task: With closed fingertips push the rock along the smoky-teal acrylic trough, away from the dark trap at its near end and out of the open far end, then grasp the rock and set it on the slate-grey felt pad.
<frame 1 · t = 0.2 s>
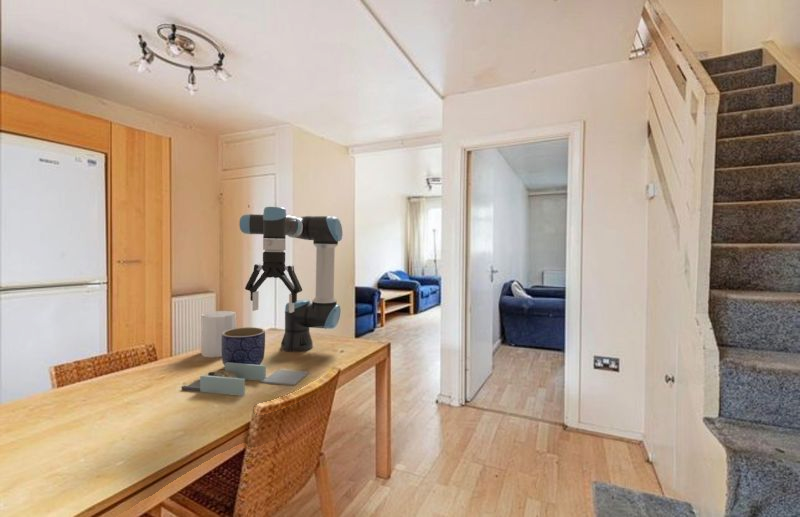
hand: (273, 311, 131), 28 cm above the table, fingers open, 13 cm apart
planter: (243, 368, 153), on the table
trough: (234, 385, 134), on the table
rock: (226, 384, 134), on the table, touching trough
container: (218, 352, 172), on the table
pad: (286, 377, 143), on the table
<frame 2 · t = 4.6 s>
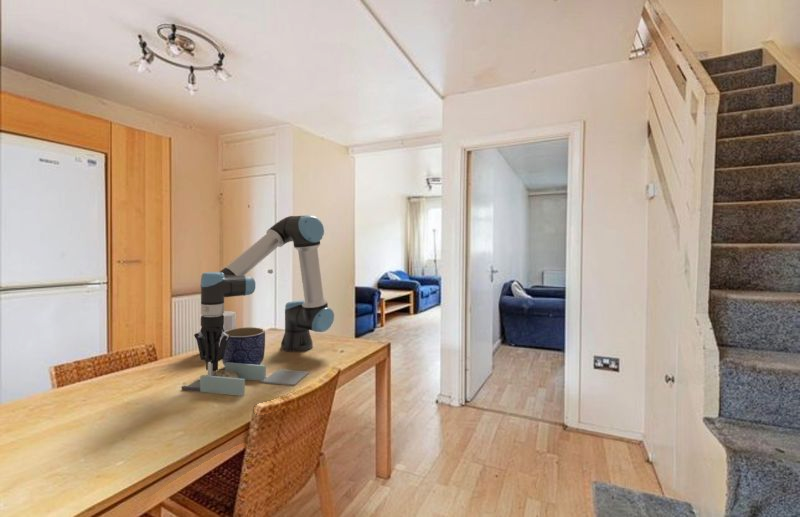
hand: (211, 379, 135), 2 cm above the table, fingers closed
rock: (227, 384, 134), on the table, touching gripper
everything else where it was.
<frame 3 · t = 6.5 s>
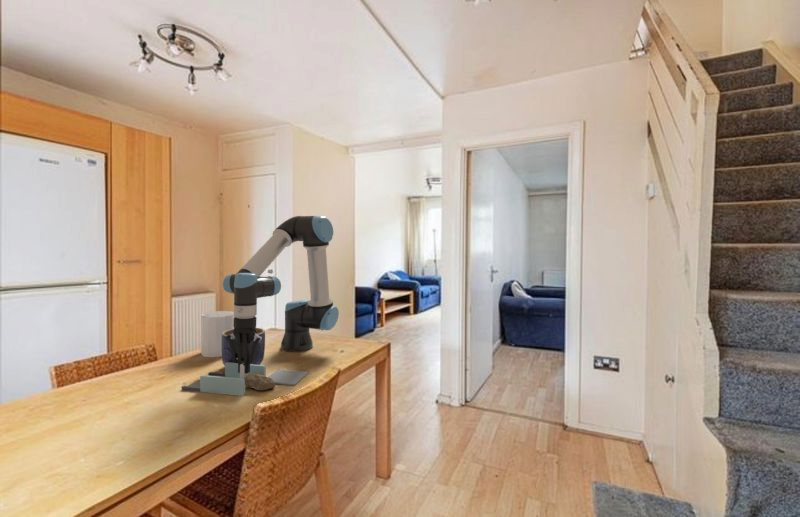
hand: (243, 381, 133), 2 cm above the table, fingers closed
rock: (260, 387, 133), on the table, touching gripper, pad
everything else where it was.
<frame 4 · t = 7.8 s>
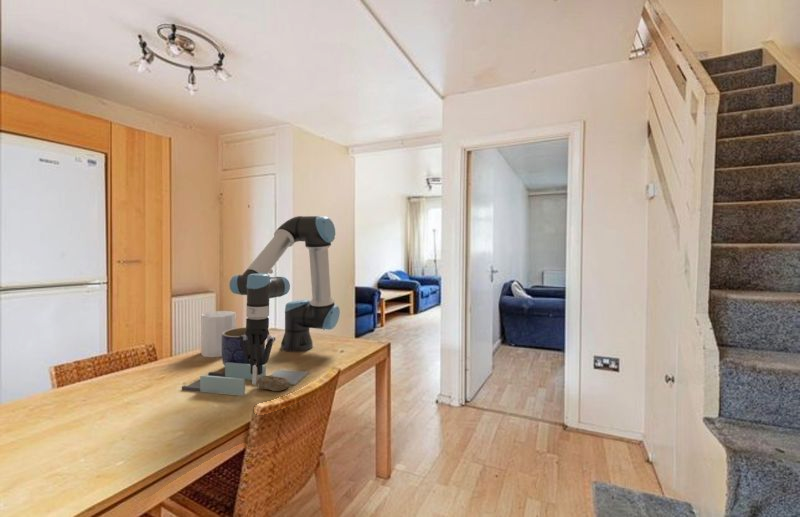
hand: (256, 382, 132), 2 cm above the table, fingers closed
rock: (274, 388, 132), on the table, touching gripper, pad
everything else where it was.
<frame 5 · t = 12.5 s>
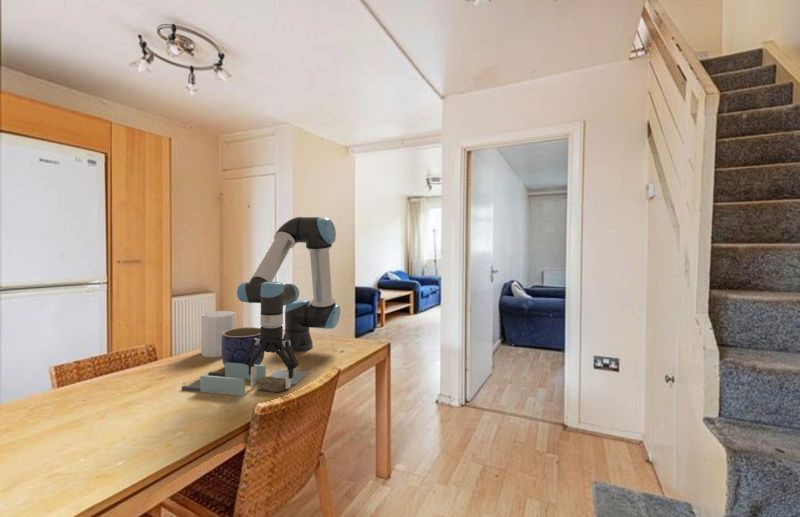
hand: (270, 385, 132), 1 cm above the table, fingers open, 12 cm apart
rock: (273, 389, 132), on the table, touching gripper
everything else where it was.
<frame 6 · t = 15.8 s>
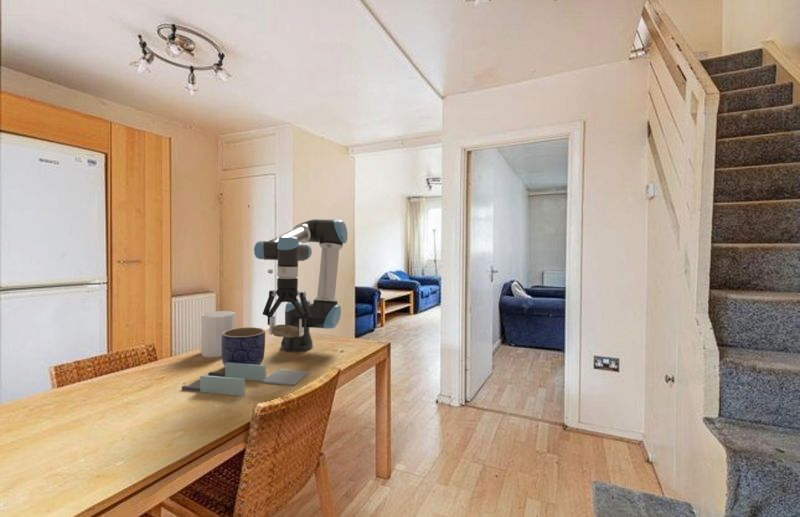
hand: (286, 334, 142), 17 cm above the table, fingers closed on rock, 11 cm apart
rock: (287, 336, 142), point 16 cm above the table, touching gripper
everything else where it was.
when the fingers open (3 cm above the table, at t = 18.9 s): rock drops 1 cm, resting on pad.
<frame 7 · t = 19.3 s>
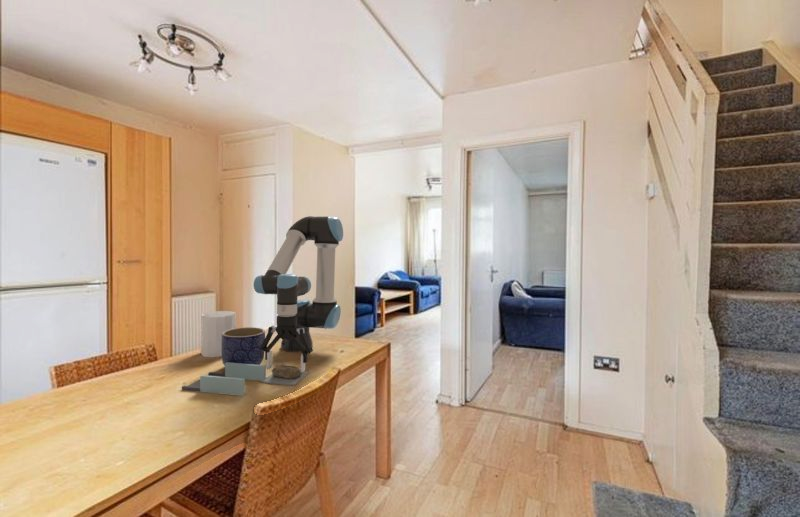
hand: (286, 369, 143), 3 cm above the table, fingers open, 13 cm apart
rock: (287, 376, 143), resting on pad
everything else where it was.
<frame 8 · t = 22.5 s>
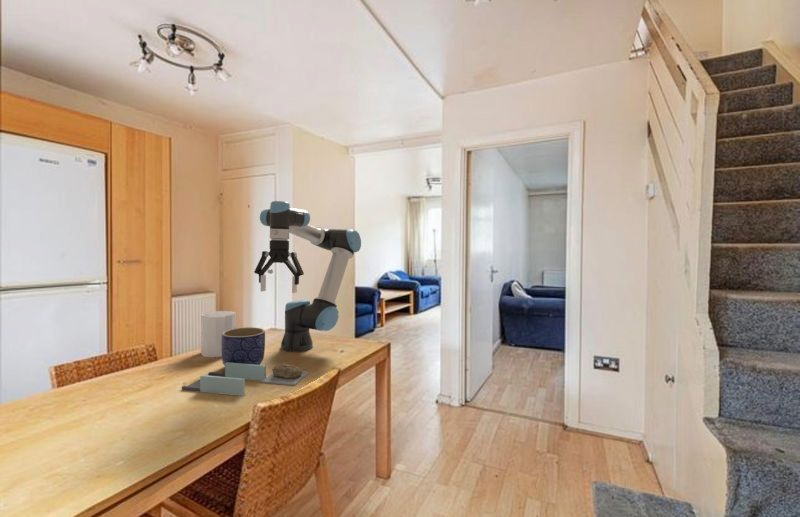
hand: (278, 291, 151), 32 cm above the table, fingers open, 13 cm apart
nothing on the table moved.
at the end: rock inside the target area on the pad (0.8 cm from its centre), point 0.4 cm above the pad's base; the gripper is holding nothing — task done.
